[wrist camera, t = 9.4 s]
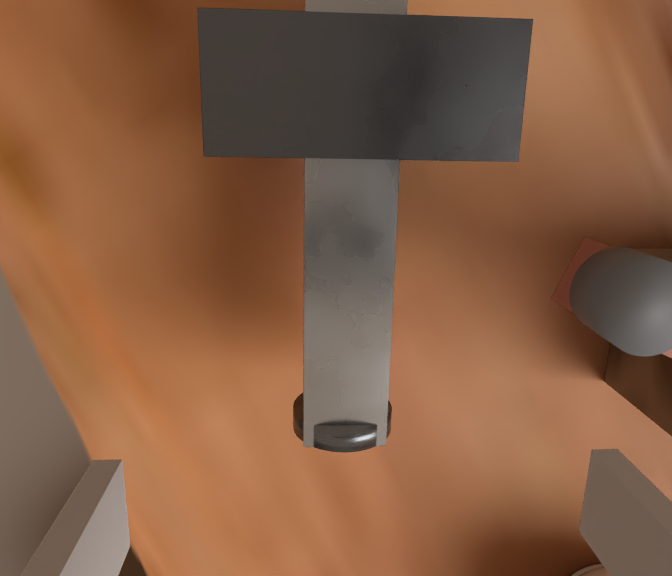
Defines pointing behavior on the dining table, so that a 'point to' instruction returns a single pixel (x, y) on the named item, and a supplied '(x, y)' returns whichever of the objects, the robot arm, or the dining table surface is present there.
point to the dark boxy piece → (362, 85)
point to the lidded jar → (592, 571)
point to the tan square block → (644, 373)
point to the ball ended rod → (620, 297)
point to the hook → (348, 288)
